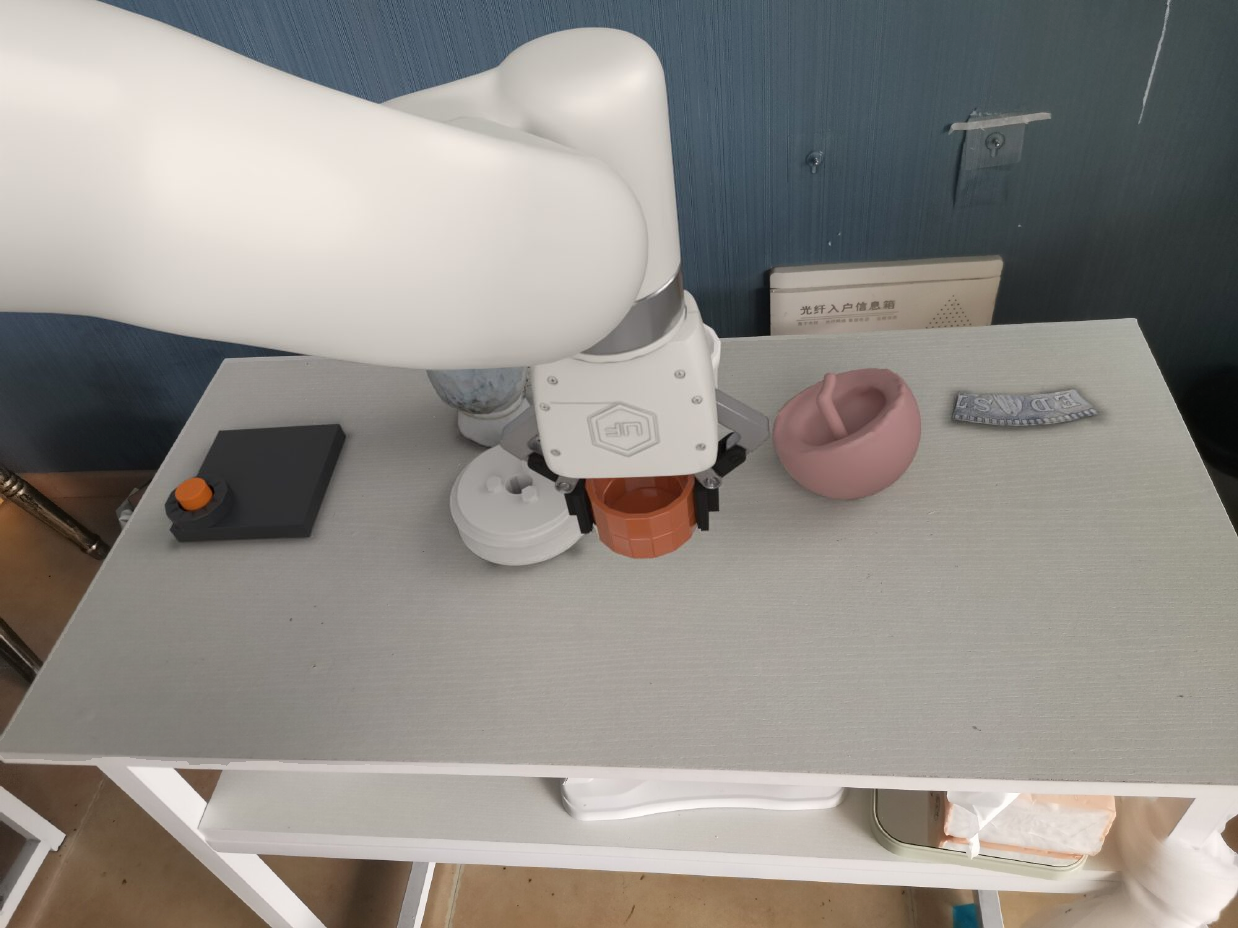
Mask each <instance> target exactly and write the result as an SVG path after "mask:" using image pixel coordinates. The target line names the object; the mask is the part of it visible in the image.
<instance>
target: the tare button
mask: <svg viewBox="0 0 1238 928" xmlns="http://www.w3.org/2000/svg"><path fill="white" fill-rule="evenodd" d="M176 488H177V489H176ZM176 488H175V489H176V491H175V497H176V498H177V500H178V501H179V502H180V504H181V505H182V506H183V508H184V509H186V510H188V511H195V510H197V509H199V508H202V507H204V506H205V505H206V504H207V503H208V502H209V501H210V500H211V499H212V495H213V494H212V491H211V489H210V488H209V487H208V485H207V484H206V482H205V481H204V480H203V479H201V478H193V477H191V478H188V479H185V480H184V481H182V482H181V483H180V484H179V485H178V486H177V487H176Z"/></svg>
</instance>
